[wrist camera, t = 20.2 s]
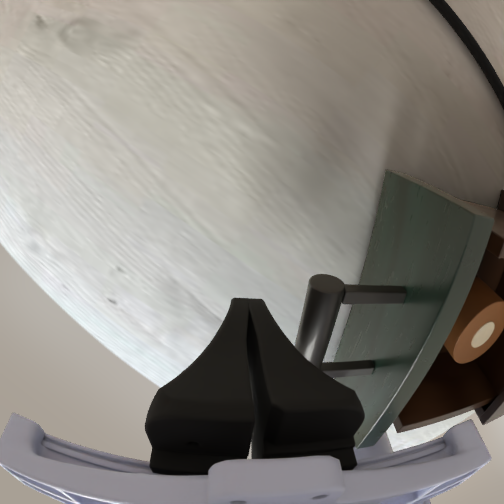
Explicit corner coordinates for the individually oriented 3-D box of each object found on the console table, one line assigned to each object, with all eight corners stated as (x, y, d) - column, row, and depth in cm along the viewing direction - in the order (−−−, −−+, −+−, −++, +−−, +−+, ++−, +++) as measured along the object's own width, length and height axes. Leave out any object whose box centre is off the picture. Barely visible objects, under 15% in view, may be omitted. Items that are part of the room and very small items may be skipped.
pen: (523, 161, 13) (534, 165, 12) (349, -66, 7) (355, -75, 6) (528, 154, 13) (538, 157, 12) (357, -71, 7) (363, -79, 6)
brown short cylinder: (458, 321, 17) (487, 358, 13) (412, 325, 16) (441, 369, 13) (481, 266, 15) (519, 300, 11) (437, 264, 14) (477, 303, 11)
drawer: (269, 368, 19) (279, 458, 12) (302, 156, 13) (358, 193, 7) (457, 352, 20) (494, 407, 14) (518, 204, 14) (584, 244, 8)
